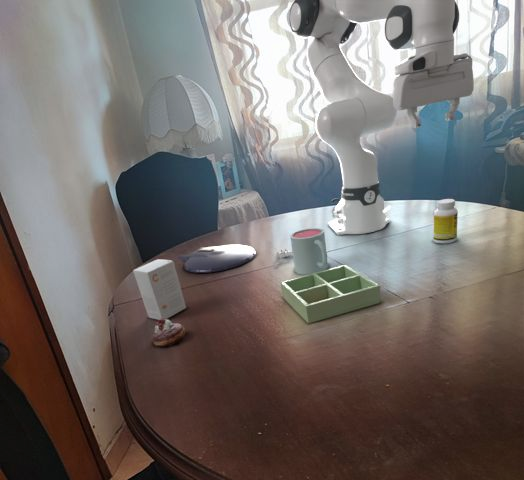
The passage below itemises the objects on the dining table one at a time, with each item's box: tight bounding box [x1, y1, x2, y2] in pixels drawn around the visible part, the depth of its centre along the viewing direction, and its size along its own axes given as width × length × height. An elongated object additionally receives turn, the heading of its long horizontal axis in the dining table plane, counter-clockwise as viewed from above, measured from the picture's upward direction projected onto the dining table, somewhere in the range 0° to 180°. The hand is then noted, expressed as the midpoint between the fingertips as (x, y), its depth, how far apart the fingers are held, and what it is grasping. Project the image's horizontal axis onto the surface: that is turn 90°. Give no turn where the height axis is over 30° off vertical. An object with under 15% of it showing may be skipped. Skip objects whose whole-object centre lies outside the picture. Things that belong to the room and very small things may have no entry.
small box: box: [132, 258, 187, 321], centre depth 116 cm, size 8×6×13 cm
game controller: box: [275, 248, 293, 266], centre depth 139 cm, size 6×12×3 cm, turn 176°
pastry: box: [152, 317, 186, 347], centre depth 104 cm, size 8×8×5 cm
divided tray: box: [280, 264, 382, 324], centre depth 108 cm, size 17×17×4 cm
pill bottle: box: [432, 198, 459, 244], centre depth 128 cm, size 6×6×11 cm
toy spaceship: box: [177, 244, 257, 274], centre depth 152 cm, size 28×24×3 cm
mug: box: [289, 227, 329, 275], centre depth 125 cm, size 14×9×10 cm
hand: (433, 123), depth 115 cm, fingers open, 8 cm apart
